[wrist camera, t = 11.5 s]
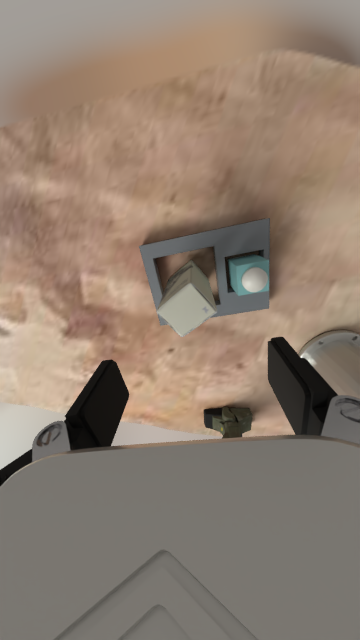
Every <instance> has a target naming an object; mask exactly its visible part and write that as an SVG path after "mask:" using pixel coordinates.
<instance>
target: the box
mask: <svg viewBox="0 0 360 640" xmlns="http://www.w3.org/2000/svg"><path fill="white" fill-rule="evenodd" d="M157 313H158V314H159V315H160V316H161V317H162V318H163V319H164V321H165V322H167V324H168V325H169V326H170V327H171V328H172V329H173V330H174V331H175V332H176V333H177V334H179V335H180V336H181V337H183V336H185V335H187V334H188V333H190V332H191V331H192V330H194V329H195V328H197V327H198V326H199V325H201V324H202V323H203V322H205V321H206V320H207V319H209V318H210V317H211V316H213V315H214V314H215V313H217V308H216V304H215V301H214V297H213V294H212V291H211V287H210V283H209V280H208V278H207V277H206V276H205V274H204V273H203V272H202V271H201V270H200V269H199V267H198V266H197V265H196V264H195V263H194V262H193V261H192V260H190V261H189V262H188V263H186V264H185V265H184V266H183V267H182V268H181V269H179V270H178V271H177V272H176V273H175V274H174V275H173V276H172V277H171V278H170V279H169V280H168V283H167V286H166V288H165V291H164V293H163V296H162V299H161V302H160V304H159V307H158V309H157Z"/></svg>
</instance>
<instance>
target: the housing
mask: <svg viewBox="0 0 360 640" xmlns="http://www.w3.org/2000/svg"><path fill="white" fill-rule="evenodd" d="M211 246H213V252H214V261H215V270H216V278H217V287H218V296H219V300H218V301H215V304H216V308H217V313H215V314H214V315H213V316H211V317H218V316H224V315H230V314H237V313H243V312H249V311H255V310H262V309H268V308H269V291H264V292H258V293H252V294H247V295H241V296H238V295H237V294H236V292H235V291H234V289H233V288H230V289H227V280H226V269H225V258H224V257H226V256H232V255H237V254H242V253H247V252H252V251H257V250H259V256H261V257H263V258H265V259H268V260H269V248H270V218H267V219H261V220H256V221H252V222H247V223H242V224H238V225H233V226H229V227H224V228H219V229H215V230H210V231H205V232H201V233H196V234H191V235H187V236H182V237H177V238H173V239H168V240H163V241H159V242H154V243H150V244H145V245H141V246H139V248H140V252H141V255H142V259H143V263H144V266H145V270H146V274H147V277H148V281H149V285H150V288H151V292H152V296H153V299H154V303H155V307H156V310H157V309H158V307H159V304H160V302H161V299H162V296H163V293H164V292H163V288H162V284H161V280H160V275H159V271H158V267H157V263H156V259H155V258H158V257H162V256H167V255H172V254H177V253H182V252H187V251H192V250H197V249H202V248H206V247H211ZM157 314H158V313H157ZM211 317H210V318H211ZM158 318H159V321H160V325H167V322H165V321H164V319H163V318H162V317H161V316H160V315H159V314H158Z"/></svg>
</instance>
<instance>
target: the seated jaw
mask: <svg viewBox="0 0 360 640" xmlns="http://www.w3.org/2000/svg"><path fill="white" fill-rule="evenodd" d="M227 260H228V271H229V282H230V285H231V287H232V288H233V289H234V291H235V292H236V294H237V295H238V296H241V295H247V294H252V293H258V292H264V291H269V260H268V259H265V258H263V257H261V256H258V255H256V254H251V255H246V256H241V257H236V258H231V259H227Z"/></svg>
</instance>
